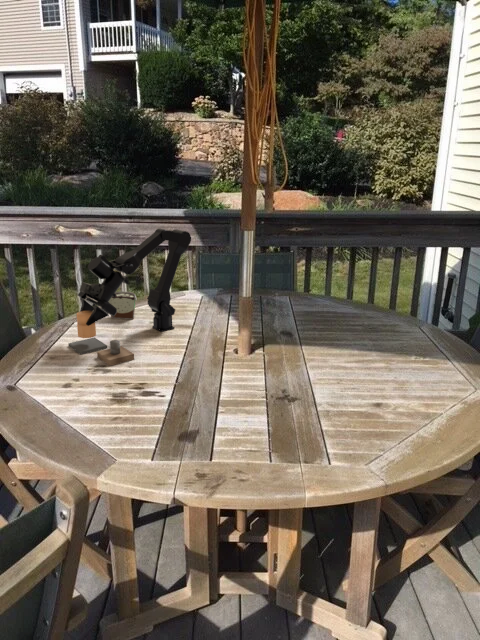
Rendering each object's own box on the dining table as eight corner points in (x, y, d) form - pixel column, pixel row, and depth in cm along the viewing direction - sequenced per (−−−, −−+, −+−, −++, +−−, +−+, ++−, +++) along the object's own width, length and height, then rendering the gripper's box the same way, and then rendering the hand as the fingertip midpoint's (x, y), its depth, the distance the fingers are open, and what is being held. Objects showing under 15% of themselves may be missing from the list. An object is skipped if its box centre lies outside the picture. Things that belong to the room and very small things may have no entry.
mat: (94, 339, 197) (94, 337, 196) (107, 348, 189) (107, 345, 189) (68, 345, 190) (68, 343, 190) (80, 354, 183) (80, 351, 183)
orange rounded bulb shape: (96, 331, 192) (94, 310, 189) (95, 337, 186) (94, 315, 184) (78, 332, 191) (76, 311, 188) (77, 338, 185) (76, 316, 182)
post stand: (121, 351, 187) (120, 335, 185) (134, 359, 180) (133, 342, 179) (97, 357, 181) (96, 340, 179) (109, 365, 175) (108, 348, 173)
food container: (141, 314, 225) (140, 291, 222) (137, 319, 220) (136, 295, 216) (112, 313, 227) (111, 290, 223) (107, 317, 221) (106, 294, 217)
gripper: (80, 268, 191) (53, 303, 187) (106, 278, 178) (78, 317, 174) (102, 286, 198) (76, 320, 195) (128, 297, 185) (101, 334, 182)
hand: (82, 322), depth 186 cm, fingers closed on orange rounded bulb shape, 6 cm apart
